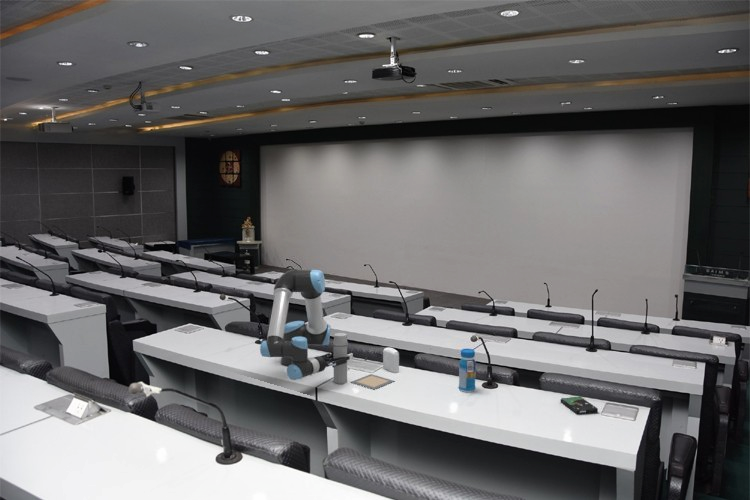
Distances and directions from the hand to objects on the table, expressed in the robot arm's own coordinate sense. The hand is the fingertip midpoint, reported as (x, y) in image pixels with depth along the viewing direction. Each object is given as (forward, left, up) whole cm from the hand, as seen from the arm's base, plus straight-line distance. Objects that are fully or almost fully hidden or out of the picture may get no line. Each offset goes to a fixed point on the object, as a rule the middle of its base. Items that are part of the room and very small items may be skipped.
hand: (347, 354), depth 286 cm
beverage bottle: (+55, +28, -13) cm, 63 cm away
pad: (+13, +5, -13) cm, 19 cm away
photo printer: (+8, +26, -13) cm, 30 cm away
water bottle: (0, -5, -13) cm, 14 cm away
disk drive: (+105, +42, -14) cm, 114 cm away
